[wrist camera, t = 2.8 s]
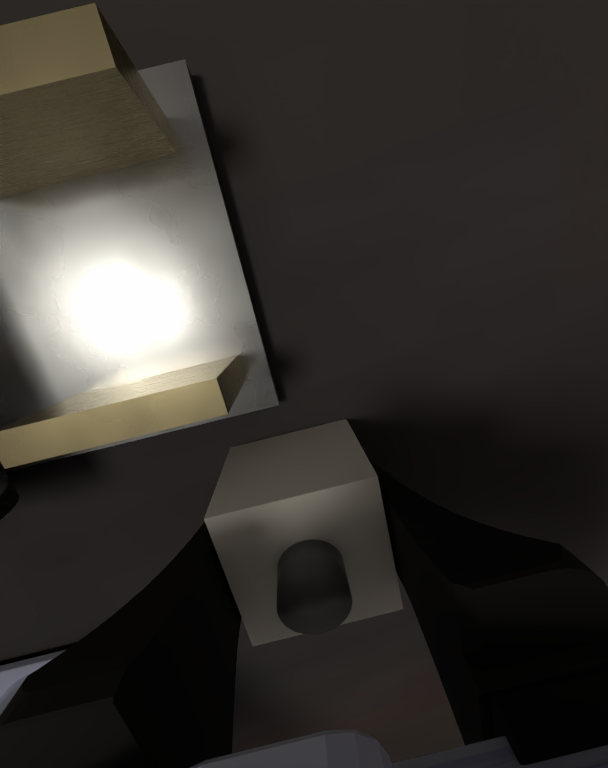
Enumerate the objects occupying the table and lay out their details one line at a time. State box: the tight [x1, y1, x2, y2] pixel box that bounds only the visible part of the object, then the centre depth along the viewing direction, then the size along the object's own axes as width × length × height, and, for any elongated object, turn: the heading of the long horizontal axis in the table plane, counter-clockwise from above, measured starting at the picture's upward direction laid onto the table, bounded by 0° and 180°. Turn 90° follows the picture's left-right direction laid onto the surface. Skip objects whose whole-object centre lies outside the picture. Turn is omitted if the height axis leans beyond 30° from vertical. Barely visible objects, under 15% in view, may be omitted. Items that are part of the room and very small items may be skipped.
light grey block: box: [204, 419, 403, 646], centre depth 11 cm, size 5×5×6 cm
